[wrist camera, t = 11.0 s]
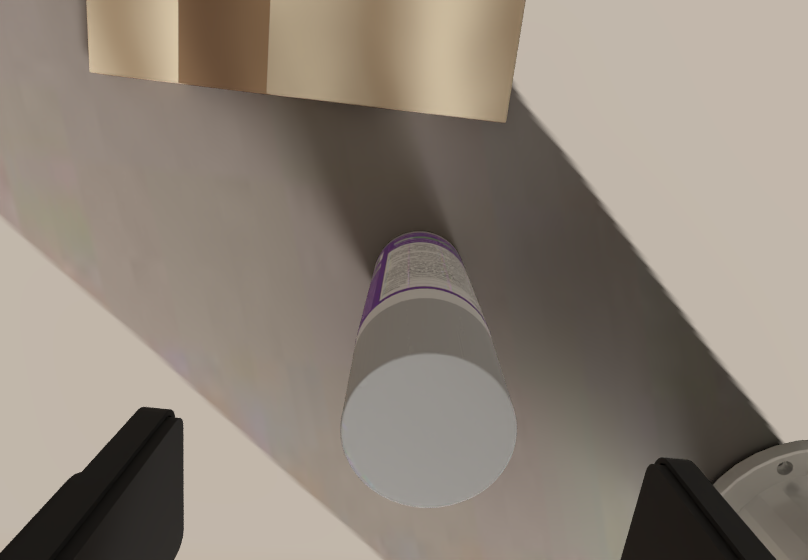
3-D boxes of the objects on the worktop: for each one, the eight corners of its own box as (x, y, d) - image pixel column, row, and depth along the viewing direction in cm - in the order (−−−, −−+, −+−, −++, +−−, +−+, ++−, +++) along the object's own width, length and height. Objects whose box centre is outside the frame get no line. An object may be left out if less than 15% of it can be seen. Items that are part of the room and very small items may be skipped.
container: (420, 334, 29) (430, 543, 14) (355, 276, 28) (296, 437, 13) (482, 273, 28) (561, 431, 13) (417, 211, 27) (425, 309, 12)
